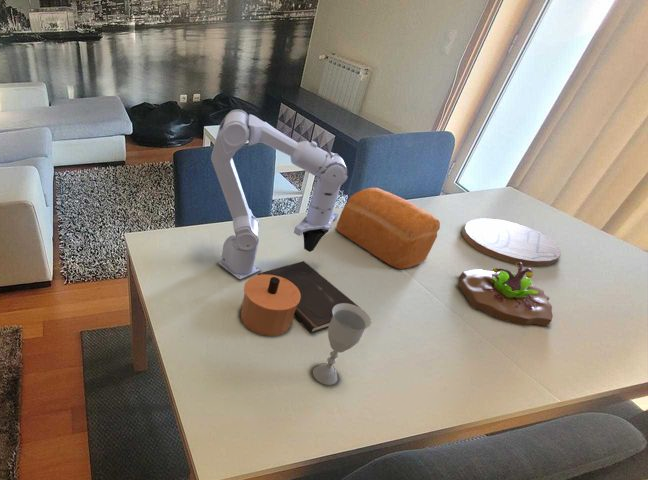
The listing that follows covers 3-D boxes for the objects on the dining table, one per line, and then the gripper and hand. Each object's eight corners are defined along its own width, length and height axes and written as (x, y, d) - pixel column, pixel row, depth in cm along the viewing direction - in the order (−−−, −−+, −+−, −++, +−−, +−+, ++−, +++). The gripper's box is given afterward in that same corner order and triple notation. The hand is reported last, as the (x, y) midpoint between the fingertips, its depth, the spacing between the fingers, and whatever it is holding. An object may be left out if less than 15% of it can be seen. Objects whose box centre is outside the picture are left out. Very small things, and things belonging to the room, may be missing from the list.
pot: (230, 312, 103) (235, 287, 98) (265, 296, 108) (271, 271, 103) (265, 343, 95) (272, 317, 89) (301, 323, 100) (309, 298, 95)
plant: (468, 314, 102) (491, 280, 95) (451, 270, 117) (471, 238, 110) (562, 333, 97) (595, 299, 90) (533, 285, 111) (559, 252, 104)
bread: (396, 272, 116) (419, 225, 106) (331, 229, 135) (345, 186, 125) (429, 261, 120) (454, 215, 110) (361, 221, 139) (377, 178, 129)
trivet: (551, 236, 131) (555, 231, 130) (562, 276, 115) (567, 271, 114) (462, 216, 142) (465, 211, 140) (461, 250, 125) (464, 245, 124)
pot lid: (232, 289, 98) (234, 274, 95) (270, 271, 104) (274, 257, 101) (272, 321, 89) (276, 306, 86) (311, 300, 95) (316, 285, 92)
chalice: (303, 363, 90) (325, 304, 79) (332, 361, 91) (358, 302, 79) (316, 390, 84) (343, 330, 73) (347, 387, 85) (378, 328, 74)
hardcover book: (301, 267, 118) (303, 260, 117) (360, 317, 102) (363, 310, 100) (256, 279, 114) (257, 273, 112) (310, 334, 97) (312, 327, 96)
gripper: (315, 219, 95) (301, 265, 103) (353, 203, 101) (337, 248, 109) (292, 207, 99) (281, 252, 108) (330, 193, 105) (316, 236, 114)
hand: (308, 249), depth 109 cm, fingers closed
